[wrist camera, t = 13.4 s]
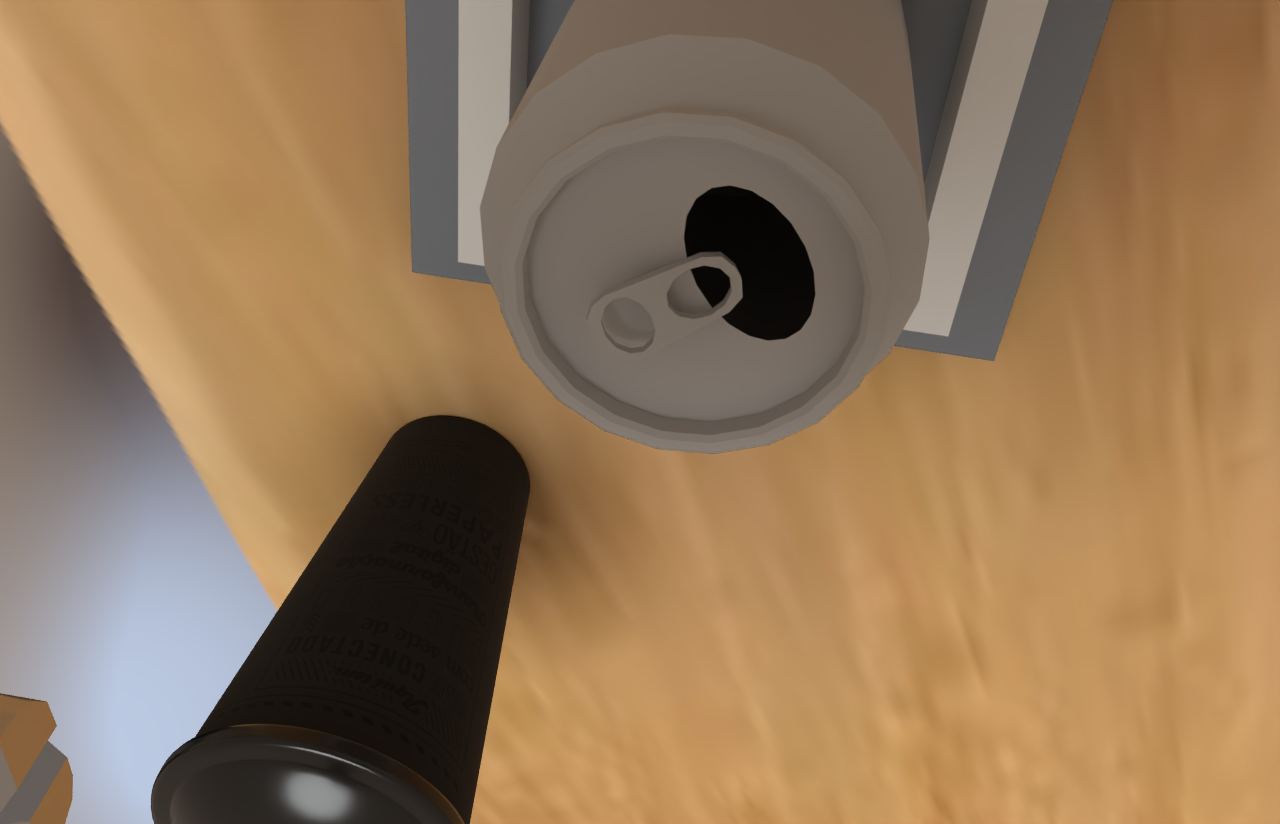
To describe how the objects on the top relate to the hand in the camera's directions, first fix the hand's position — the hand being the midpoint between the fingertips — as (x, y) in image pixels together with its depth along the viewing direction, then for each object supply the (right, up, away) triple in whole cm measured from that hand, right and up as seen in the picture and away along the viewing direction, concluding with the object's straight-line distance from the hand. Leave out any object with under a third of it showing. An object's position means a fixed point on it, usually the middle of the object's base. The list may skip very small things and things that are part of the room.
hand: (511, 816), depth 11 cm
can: (+3, +12, +18) cm, 22 cm away
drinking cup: (-5, +2, +29) cm, 30 cm away
